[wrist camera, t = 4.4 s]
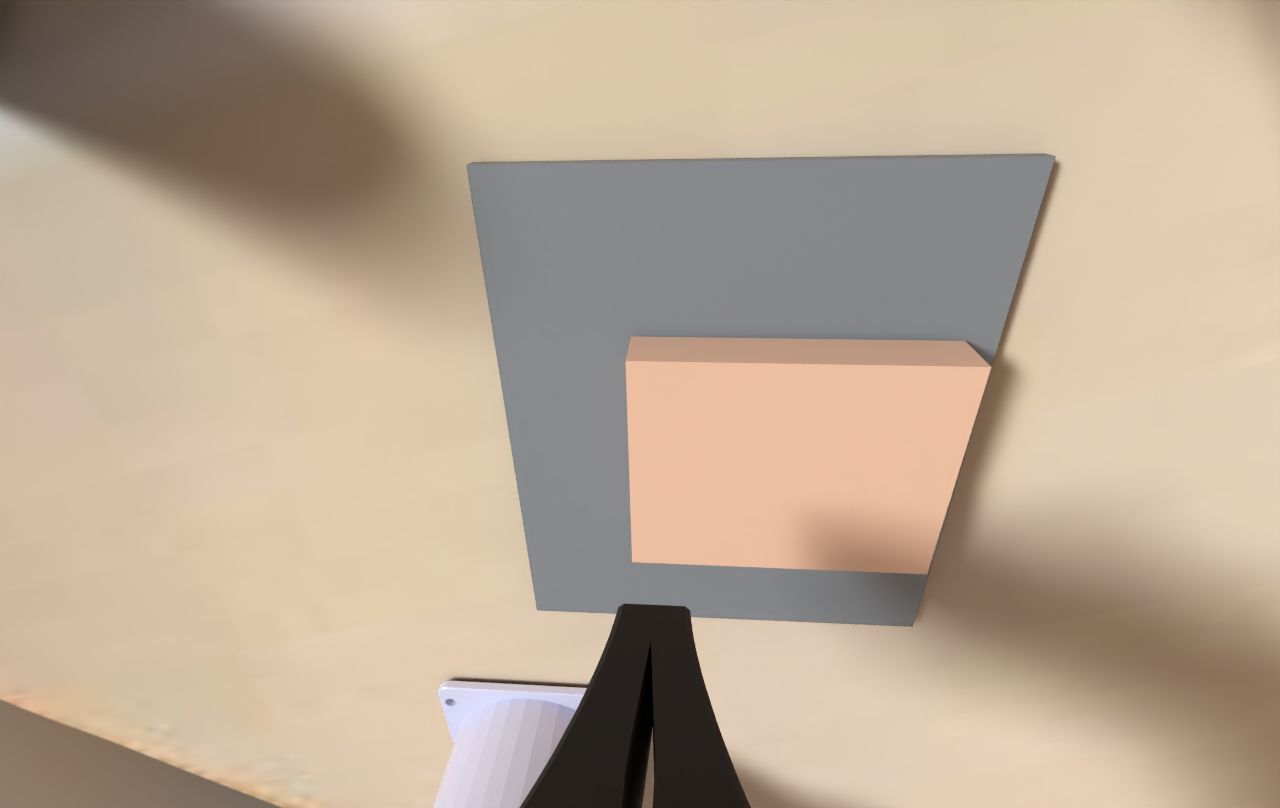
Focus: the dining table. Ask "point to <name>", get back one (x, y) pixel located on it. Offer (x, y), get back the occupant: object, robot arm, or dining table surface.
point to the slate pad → (720, 328)
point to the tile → (796, 449)
